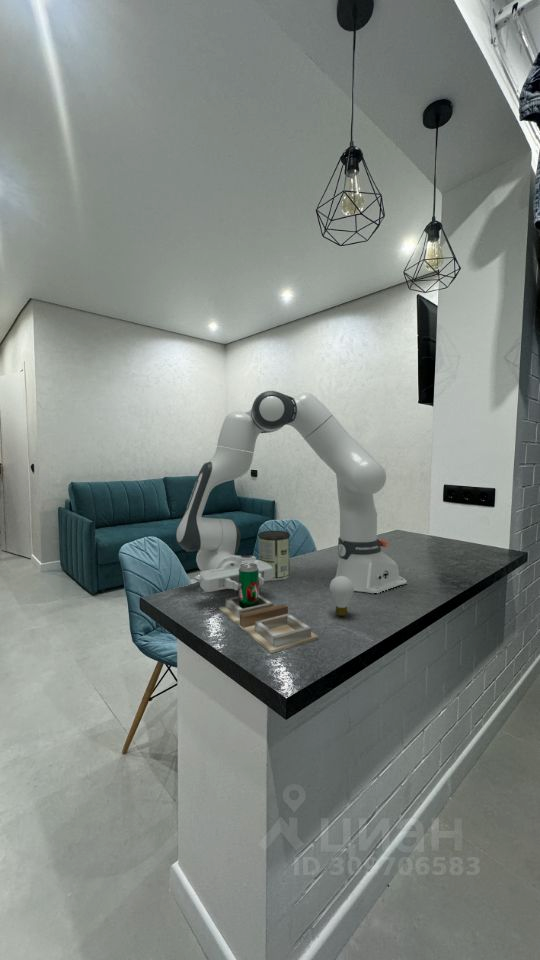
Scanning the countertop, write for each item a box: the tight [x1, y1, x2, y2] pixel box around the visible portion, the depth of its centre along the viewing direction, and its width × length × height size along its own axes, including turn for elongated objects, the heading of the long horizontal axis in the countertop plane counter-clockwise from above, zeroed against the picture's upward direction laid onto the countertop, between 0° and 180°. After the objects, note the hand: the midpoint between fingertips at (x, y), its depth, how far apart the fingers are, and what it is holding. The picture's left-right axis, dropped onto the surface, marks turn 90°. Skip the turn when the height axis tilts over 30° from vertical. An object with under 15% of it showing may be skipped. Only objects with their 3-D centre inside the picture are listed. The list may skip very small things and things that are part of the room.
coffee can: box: [258, 530, 291, 581], centre depth 129 cm, size 10×10×14 cm
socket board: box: [218, 594, 319, 654], centre depth 93 cm, size 26×12×3 cm, turn 31°
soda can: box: [238, 563, 260, 609], centre depth 100 cm, size 5×5×12 cm
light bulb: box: [329, 576, 355, 617], centre depth 97 cm, size 6×6×10 cm
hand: (250, 584), depth 99 cm, fingers closed on soda can, 5 cm apart
